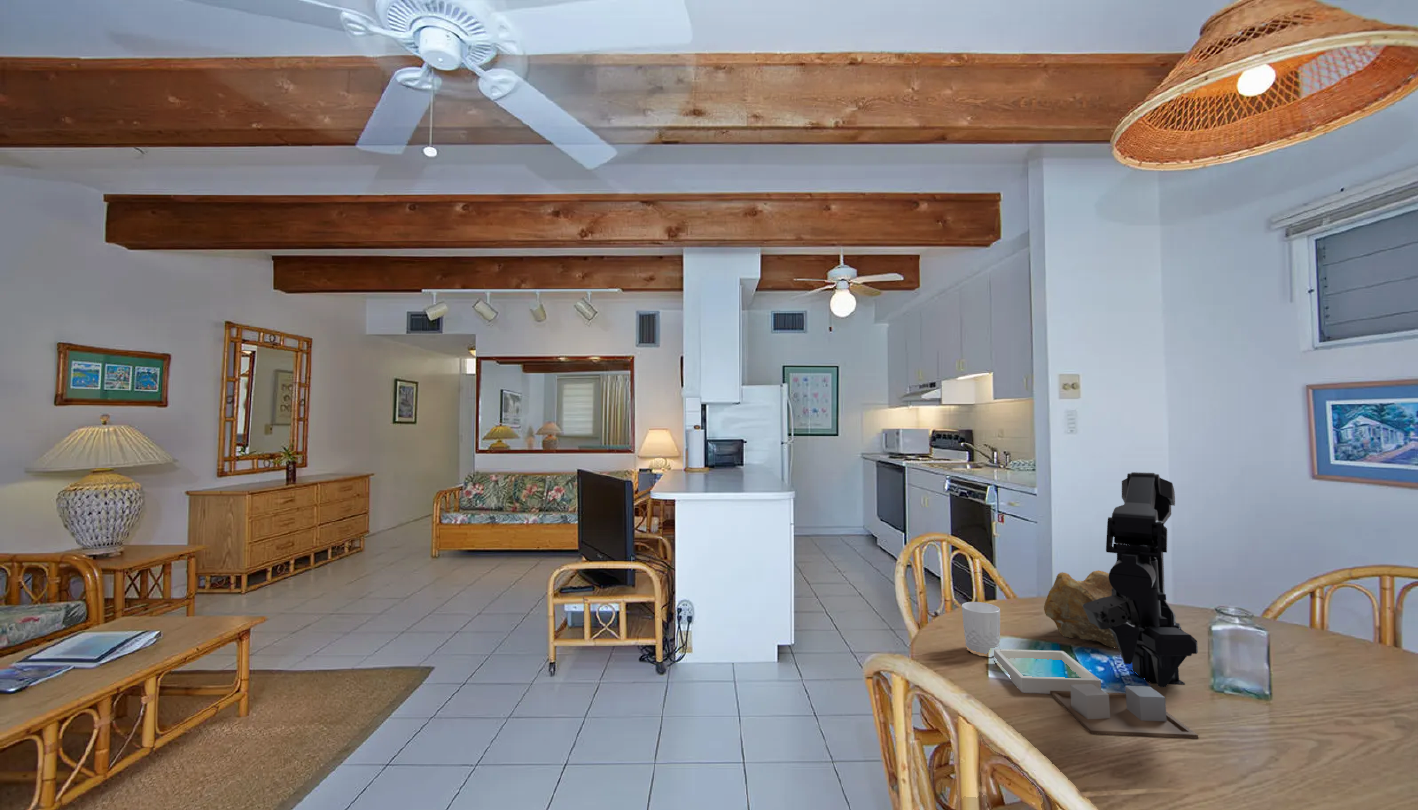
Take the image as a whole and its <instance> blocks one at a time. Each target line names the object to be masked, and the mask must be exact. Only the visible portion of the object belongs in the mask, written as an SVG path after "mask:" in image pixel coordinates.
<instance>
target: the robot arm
mask: <svg viewBox="0 0 1418 810" xmlns="http://www.w3.org/2000/svg"><path fill="white" fill-rule="evenodd" d="M1174 487H1175V486H1174V485H1173V482H1172V481H1169V480H1166V479H1164V478H1162V477H1161V476H1160V474H1158V473H1157V474H1156V473H1154V472H1137V471H1136V472H1133V471H1132V472H1131V473H1127V476H1126V478H1124V479H1123V480H1121V499H1122V501H1123V504H1122V505H1119V506H1115V508H1113V511H1112V513H1111V517H1110V516H1108V517H1107V525H1106V541H1105V552H1106V553H1109V554H1116V561H1115V563H1114V564H1113V565H1112V567H1111V569H1110V570H1109V581H1110V584H1111V586H1112V587H1113V588H1112V596H1109V597H1103V598H1100V599H1097V600H1094V601H1091V602H1088V603H1085V604H1083V608H1084V610H1085V612H1086V615H1087V617H1088V619H1089V621H1090V623H1091V624H1094V625H1096V626H1097V627H1098V628H1099V629H1103V630H1105V629H1110V630H1111V632H1112V634H1113V636H1114V639H1115V641H1116V644H1117V646H1118V647H1117V649H1118V651H1119V654H1120V657H1121V659H1122V661H1123V662H1122V663H1124V664H1125V665H1131V667H1132V668H1131V669H1133V671H1134V672H1136V673H1137V674H1138V675H1139V676H1140V677H1139V676H1138V675H1137V676H1138V677H1139V678H1141V677H1142V678H1145V680H1146V682H1147V683H1149V684H1153V685H1157V686H1158V688H1167V687H1168V685H1180V686H1183V685H1186V683H1185V682H1184V681H1183V680H1182V679H1180V673H1179V672H1180V670H1179V667H1180V666H1181V664H1182V663H1183V662H1184V661H1185V659H1186V658H1187V657H1191V656H1192V655H1197V654H1198V653H1199V649H1198V648H1199V647H1198V640H1197V639H1196V638H1194V637H1193V635H1191V634H1189V633H1188V632H1185V631H1184V630H1183V629H1182V627H1181V623H1179V622H1176V621H1177V619H1176V613H1175V612H1174V610H1173V609H1172V607H1171V606H1170V604H1169V603H1168V602H1167V594H1166V593H1165V592H1166V591H1165V590H1166V589H1165V566H1164V553H1168V528H1167V527H1166V526H1165V524H1166V522H1167V521H1168V519H1170V517H1171V516H1172V506H1176V494H1175V488H1174ZM1142 678H1141V679H1142ZM1145 680H1144V681H1145Z"/></svg>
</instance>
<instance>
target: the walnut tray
mask: <svg viewBox="0 0 1418 810" xmlns="http://www.w3.org/2000/svg"><path fill="white" fill-rule="evenodd" d="M1106 693H1107V694H1109V707H1110V718H1103V719H1087V718H1085V717H1084V716H1083V715H1081V714H1080V713H1078V712H1077V711H1075V710H1074V709H1073V708H1072V706H1071V691H1050V694H1049V695H1051V696H1052V697H1053V698H1054V699H1055V700H1056V701H1057V702H1058V703H1059V704H1060V705H1061V706H1062V707H1063V708H1064V709H1065V710H1066V711H1067V712H1068V713H1069V714H1070V715H1071V716H1072V717H1073V718H1074V719H1075V720H1076V721H1077V722H1078V723H1079V724H1080V725H1082V727H1084V729H1086V730H1087V731H1088V732H1089V734H1091V735H1109V736H1110V735H1111V736H1112V735H1114V736H1132V737H1133V736H1136V737H1154V738H1155V737H1156V738H1157V737H1160V738H1185V739H1199V734H1198V733H1196V732H1195V731H1194V730H1192V729H1191V728H1190V727H1188V726H1187V725H1185V724H1184V723H1182V722H1181V721H1180V720H1179V719H1177V718H1176V717H1175V716H1173V715H1171V714H1170V713H1169V712H1168V711H1166V717H1167V721H1143V720H1140V719H1139V718H1137V717H1136V716H1135V715H1134V714H1133V713H1131V712H1130V711H1129V710H1128V709H1127V706H1126V692H1106Z"/></svg>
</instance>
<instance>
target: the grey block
mask: <svg viewBox="0 0 1418 810" xmlns="http://www.w3.org/2000/svg"><path fill="white" fill-rule="evenodd" d="M1124 687H1125V688H1124V689H1125V693H1126V706H1127V709H1128V710H1129V711H1130V712H1131V713H1133V714H1134V715H1135V716H1136V717H1137V718H1139V719H1140V720H1143V721H1167V717H1166V712H1167V705H1166V697H1165V696H1164V695H1163V694H1161V693H1160V692H1159V691H1157V690H1156V689H1154V688H1153V687H1151V686H1145V685H1143V686H1142V685H1141V686H1140V685H1139V686H1137V685H1125V686H1124Z"/></svg>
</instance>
